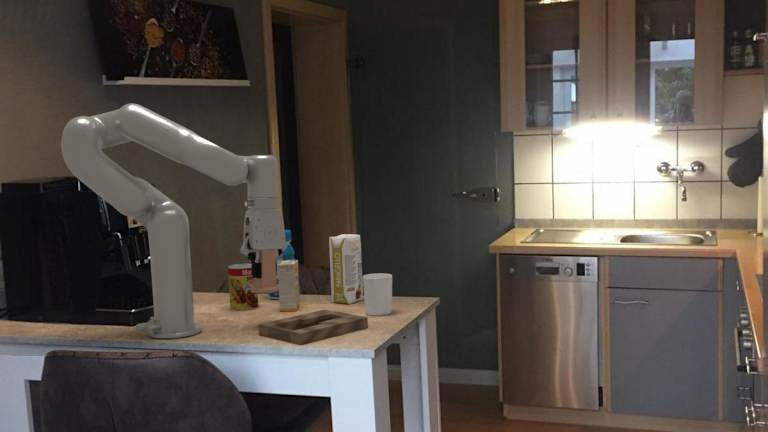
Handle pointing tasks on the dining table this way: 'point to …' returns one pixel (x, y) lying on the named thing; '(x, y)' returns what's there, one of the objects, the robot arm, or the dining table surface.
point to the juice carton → (346, 268)
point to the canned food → (241, 287)
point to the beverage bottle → (285, 256)
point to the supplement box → (288, 285)
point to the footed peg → (266, 274)
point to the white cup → (377, 293)
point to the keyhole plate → (313, 326)
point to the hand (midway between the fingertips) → (264, 276)
